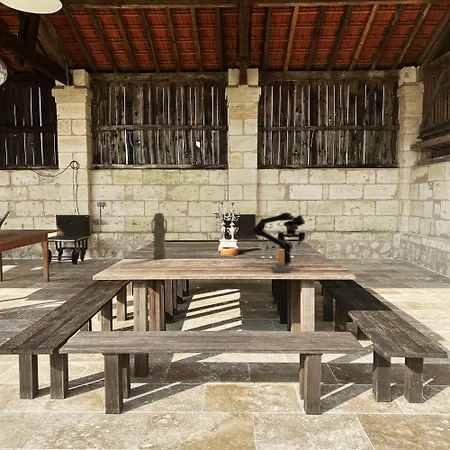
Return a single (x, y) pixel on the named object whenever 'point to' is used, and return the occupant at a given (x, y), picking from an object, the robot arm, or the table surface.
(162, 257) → the thermos
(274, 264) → the grey flat block
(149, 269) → the table surface
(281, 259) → the peg
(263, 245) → the goblet set
